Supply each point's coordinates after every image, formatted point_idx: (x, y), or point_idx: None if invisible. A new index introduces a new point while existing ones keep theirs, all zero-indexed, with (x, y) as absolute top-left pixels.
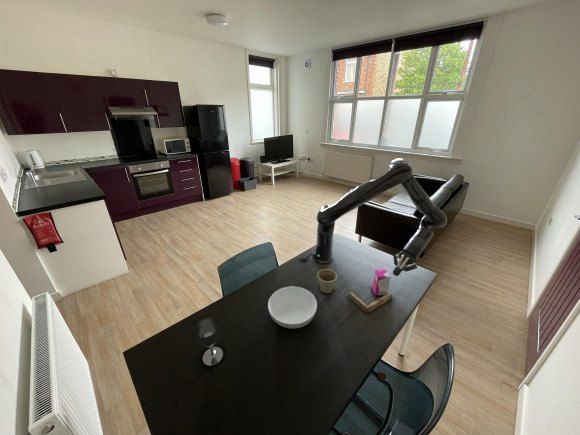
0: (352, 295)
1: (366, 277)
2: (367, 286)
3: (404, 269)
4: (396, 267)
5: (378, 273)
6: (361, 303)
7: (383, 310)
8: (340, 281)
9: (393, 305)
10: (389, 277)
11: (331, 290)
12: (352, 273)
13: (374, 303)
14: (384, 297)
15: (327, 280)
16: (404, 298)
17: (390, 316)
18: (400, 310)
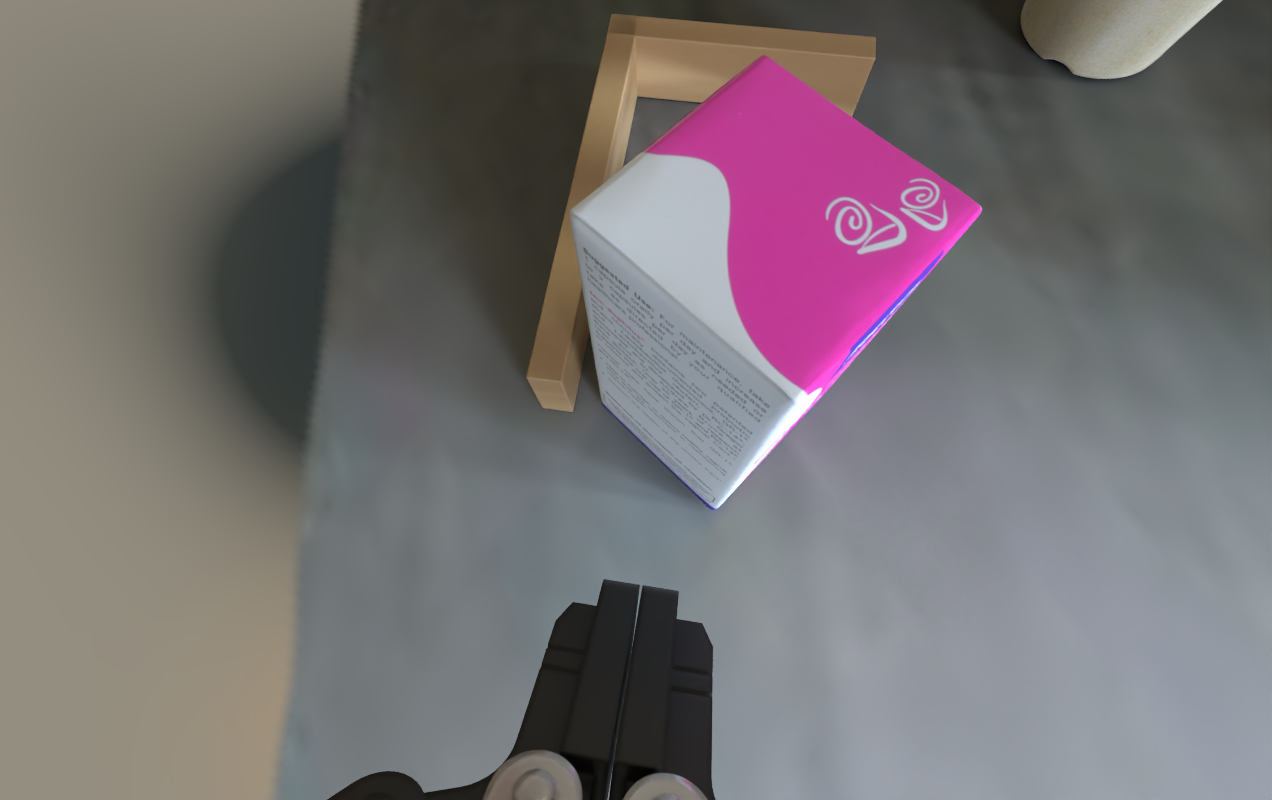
0: (834, 33)
1: (1021, 534)
2: (870, 379)
3: (376, 792)
4: (687, 789)
5: (826, 130)
6: (696, 26)
7: (522, 204)
8: (1124, 210)
9: (475, 336)
10: (584, 204)
11: (1033, 9)
12: (1202, 450)
13: (600, 102)
14: (568, 248)
15: (1197, 18)
16: (419, 549)
17: (436, 191)
18: (387, 327)
